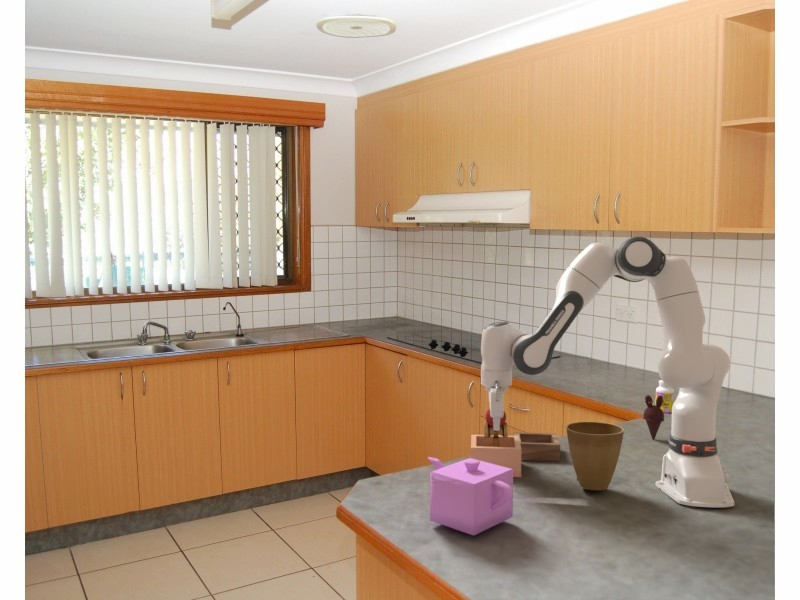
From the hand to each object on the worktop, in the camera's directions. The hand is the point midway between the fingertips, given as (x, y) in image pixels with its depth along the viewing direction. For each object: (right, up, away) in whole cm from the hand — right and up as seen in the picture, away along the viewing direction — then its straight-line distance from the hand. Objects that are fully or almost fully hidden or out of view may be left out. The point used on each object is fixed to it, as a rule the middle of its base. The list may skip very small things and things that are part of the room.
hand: (496, 425), depth 205 cm
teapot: (-12, -16, -36) cm, 41 cm away
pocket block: (+15, -12, +15) cm, 24 cm away
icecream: (+57, -10, +32) cm, 66 cm away
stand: (0, -13, +1) cm, 13 cm away
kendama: (0, -12, +5) cm, 13 cm away
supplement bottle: (+74, -8, +68) cm, 101 cm away
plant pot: (+24, -14, -14) cm, 31 cm away
